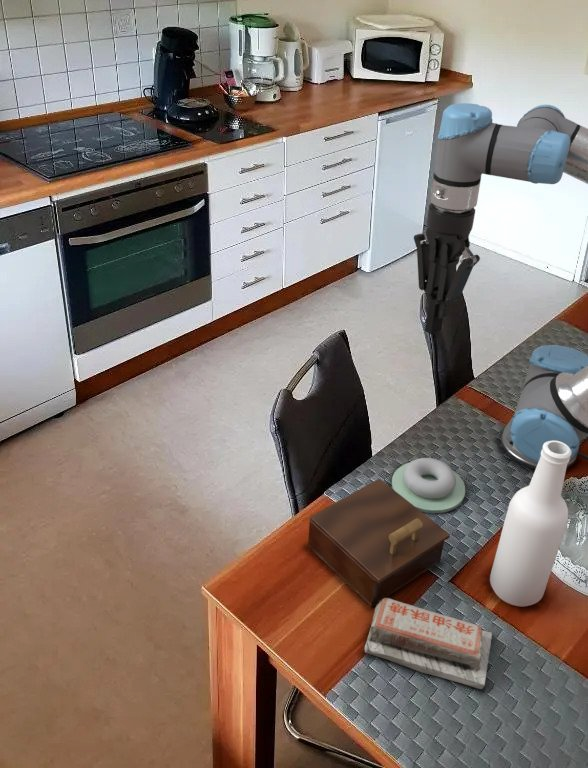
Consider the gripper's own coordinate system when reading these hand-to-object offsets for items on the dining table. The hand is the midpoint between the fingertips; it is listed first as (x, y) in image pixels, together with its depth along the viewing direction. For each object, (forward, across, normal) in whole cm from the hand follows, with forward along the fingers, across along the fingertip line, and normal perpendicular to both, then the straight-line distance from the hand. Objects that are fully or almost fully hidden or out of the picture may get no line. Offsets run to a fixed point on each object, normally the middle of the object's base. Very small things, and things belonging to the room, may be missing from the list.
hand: (433, 330), depth 134 cm
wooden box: (+29, +15, -25) cm, 41 cm away
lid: (+23, +15, -25) cm, 37 cm away
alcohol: (+30, +34, -11) cm, 47 cm away
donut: (+29, +8, -5) cm, 30 cm away
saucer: (+29, +8, -5) cm, 31 cm away
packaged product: (+30, +33, -31) cm, 54 cm away
